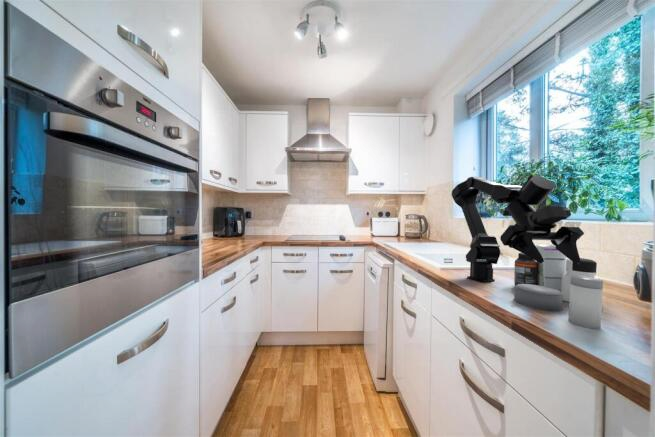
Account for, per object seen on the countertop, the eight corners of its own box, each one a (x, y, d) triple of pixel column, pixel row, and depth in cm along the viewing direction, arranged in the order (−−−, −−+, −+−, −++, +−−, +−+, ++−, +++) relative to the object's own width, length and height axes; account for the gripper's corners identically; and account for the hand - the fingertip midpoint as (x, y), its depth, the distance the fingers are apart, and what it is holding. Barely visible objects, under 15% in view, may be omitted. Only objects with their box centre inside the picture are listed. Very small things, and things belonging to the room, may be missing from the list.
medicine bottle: (597, 301, 71) (599, 259, 71) (597, 308, 66) (600, 262, 66) (562, 295, 76) (564, 255, 76) (560, 300, 71) (562, 258, 71)
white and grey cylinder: (563, 320, 58) (565, 276, 57) (576, 317, 59) (578, 275, 59) (592, 330, 53) (595, 282, 53) (605, 326, 55) (608, 280, 55)
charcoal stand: (505, 299, 71) (506, 285, 71) (528, 295, 75) (529, 282, 75) (547, 312, 62) (548, 296, 62) (571, 308, 65) (572, 292, 65)
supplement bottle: (526, 285, 86) (527, 252, 86) (542, 290, 80) (543, 254, 80) (509, 285, 86) (510, 251, 86) (524, 290, 80) (525, 254, 80)
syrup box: (567, 296, 75) (567, 246, 75) (542, 293, 77) (542, 245, 77) (559, 290, 80) (558, 244, 80) (535, 289, 82) (535, 244, 82)
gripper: (509, 194, 67) (545, 240, 56) (578, 196, 67) (626, 243, 57) (488, 223, 75) (516, 268, 64) (550, 224, 75) (587, 270, 65)
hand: (560, 262), depth 62 cm, fingers open, 9 cm apart
